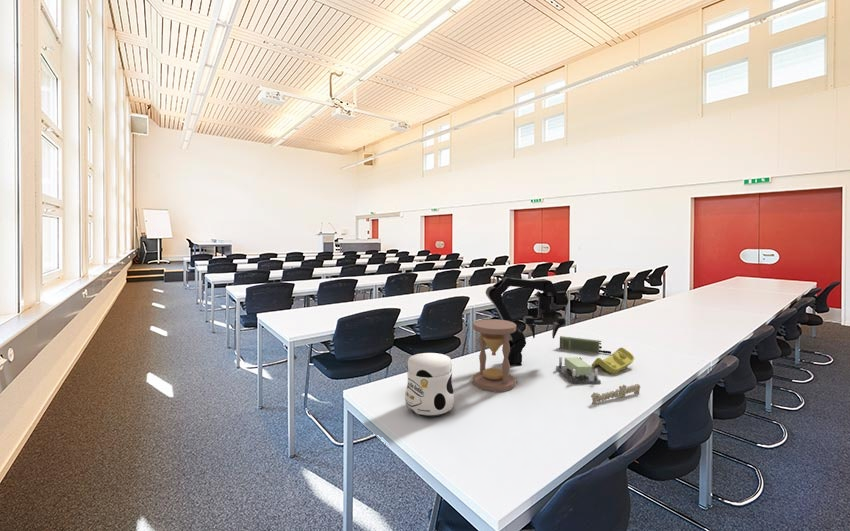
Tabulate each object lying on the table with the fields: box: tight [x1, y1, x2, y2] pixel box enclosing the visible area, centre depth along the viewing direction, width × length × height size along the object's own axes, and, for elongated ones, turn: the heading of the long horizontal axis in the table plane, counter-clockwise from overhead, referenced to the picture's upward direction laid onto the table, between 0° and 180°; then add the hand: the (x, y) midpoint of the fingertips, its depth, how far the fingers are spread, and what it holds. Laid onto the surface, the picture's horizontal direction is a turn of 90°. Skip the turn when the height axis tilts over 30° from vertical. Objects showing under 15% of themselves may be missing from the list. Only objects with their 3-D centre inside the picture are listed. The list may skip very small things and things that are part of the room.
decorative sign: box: [590, 383, 641, 405], centre depth 142 cm, size 24×1×5 cm, turn 113°
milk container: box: [404, 352, 455, 418], centre depth 133 cm, size 17×17×18 cm
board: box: [563, 356, 592, 375], centre depth 165 cm, size 6×12×4 cm, turn 5°
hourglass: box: [471, 318, 517, 393], centre depth 156 cm, size 18×18×25 cm
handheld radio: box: [559, 335, 612, 355], centre depth 199 cm, size 7×3×25 cm
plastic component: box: [590, 347, 635, 375], centre depth 176 cm, size 20×7×10 cm
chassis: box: [556, 356, 602, 385], centre depth 165 cm, size 12×18×6 cm, turn 0°
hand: (543, 338), depth 181 cm, fingers open, 9 cm apart
